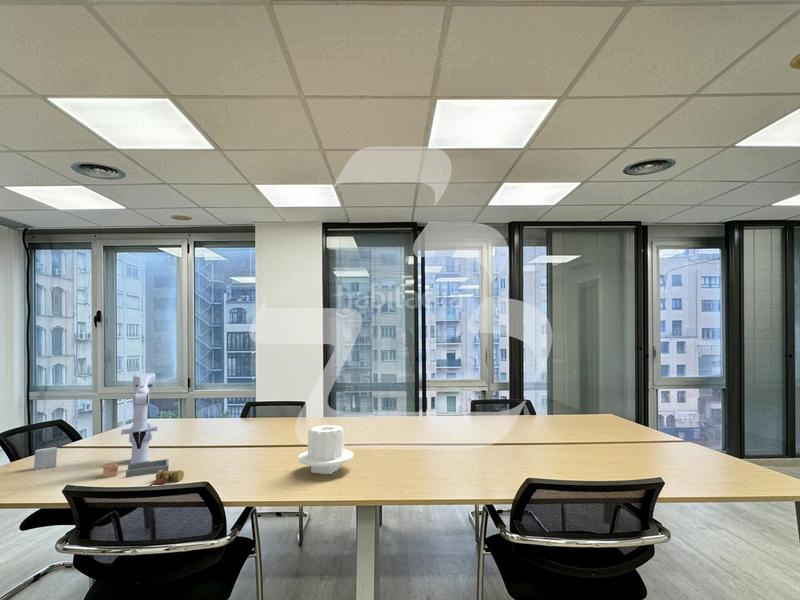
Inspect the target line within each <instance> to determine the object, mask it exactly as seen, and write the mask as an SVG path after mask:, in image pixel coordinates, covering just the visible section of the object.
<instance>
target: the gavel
mask: <svg viewBox="0 0 800 600" xmlns="http://www.w3.org/2000/svg"><path fill="white" fill-rule="evenodd" d="M184 475H185V474H184V471H183V470H182V469H178V470H168V471H165V470H159V471H158V472H157V473H155V481H154V482H153V483H151V484H150V485H148V486H152V485H161V486H162V485H163V484H165V483H166V482H178V483H179V482H182V480H183V478H184V477H185V476H184Z"/></svg>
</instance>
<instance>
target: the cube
mask: <svg viewBox="0 0 800 600" xmlns="http://www.w3.org/2000/svg"><path fill="white" fill-rule="evenodd" d="M102 473H103V474H102V479H107V478H108V479H109V478H114V477H117V476H118V474H119V461H116V462H110V463H109V462H108V463H107V462H106V463H104V466H103V470H102Z"/></svg>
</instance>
